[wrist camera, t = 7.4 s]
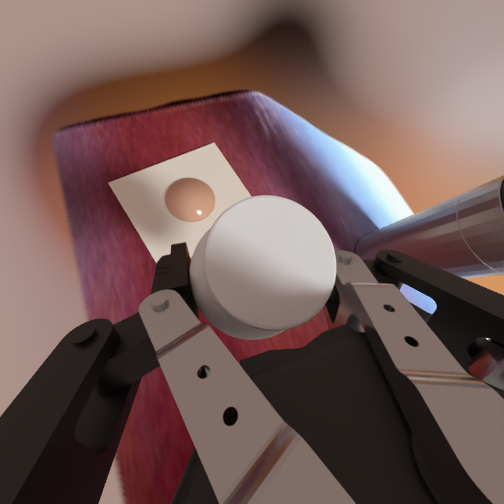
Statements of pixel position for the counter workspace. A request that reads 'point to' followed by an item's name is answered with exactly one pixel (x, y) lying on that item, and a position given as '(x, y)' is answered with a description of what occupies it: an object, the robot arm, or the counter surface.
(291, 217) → the supplement bottle
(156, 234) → the mat
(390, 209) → the counter surface
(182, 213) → the coaster
